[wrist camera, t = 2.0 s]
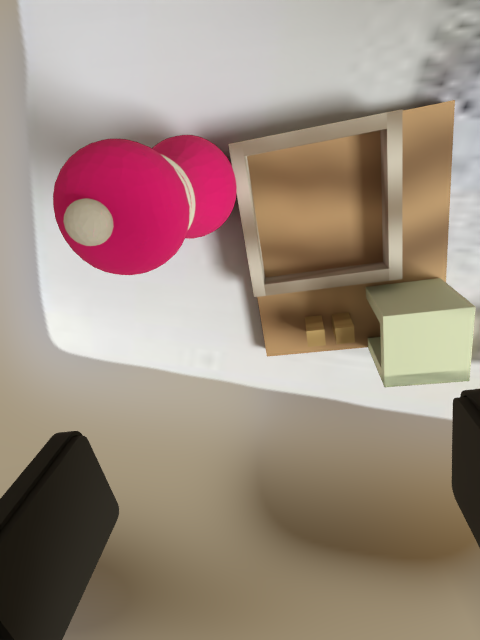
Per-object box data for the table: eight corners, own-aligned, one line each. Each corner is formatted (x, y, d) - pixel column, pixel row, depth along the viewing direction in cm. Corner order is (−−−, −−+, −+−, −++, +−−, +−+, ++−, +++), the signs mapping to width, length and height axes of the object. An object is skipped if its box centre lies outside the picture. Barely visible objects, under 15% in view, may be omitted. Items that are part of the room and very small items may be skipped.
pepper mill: (147, 155, 31) (-58, 158, 13) (226, 123, 29) (118, 75, 11) (179, 237, 33) (47, 335, 15) (254, 212, 32) (203, 291, 14)
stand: (234, 145, 30) (226, 143, 26) (446, 102, 27) (474, 93, 23) (267, 349, 37) (265, 372, 33) (436, 332, 34) (456, 356, 30)
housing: (365, 286, 32) (383, 316, 26) (439, 278, 31) (475, 306, 25) (368, 347, 34) (384, 387, 28) (437, 341, 33) (469, 380, 27)
